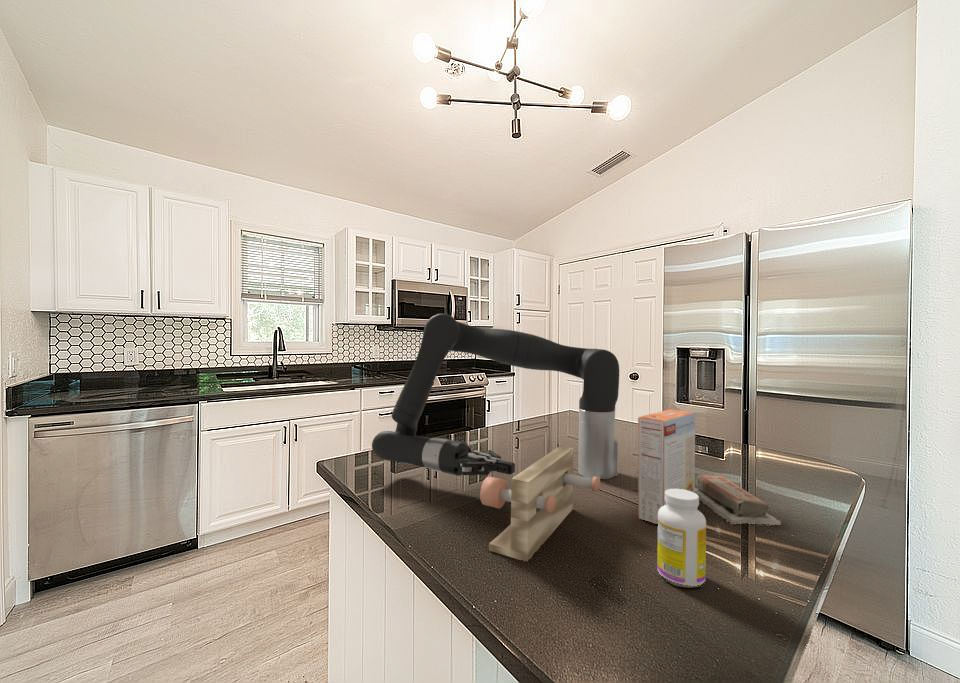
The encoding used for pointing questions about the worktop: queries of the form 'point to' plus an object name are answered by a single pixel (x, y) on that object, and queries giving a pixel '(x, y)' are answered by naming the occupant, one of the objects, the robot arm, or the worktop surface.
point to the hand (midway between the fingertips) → (513, 468)
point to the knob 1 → (509, 495)
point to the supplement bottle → (681, 539)
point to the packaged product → (732, 501)
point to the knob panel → (528, 520)
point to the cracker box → (664, 458)
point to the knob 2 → (582, 481)
